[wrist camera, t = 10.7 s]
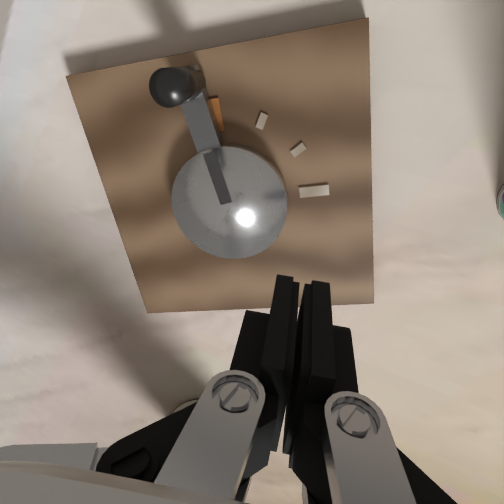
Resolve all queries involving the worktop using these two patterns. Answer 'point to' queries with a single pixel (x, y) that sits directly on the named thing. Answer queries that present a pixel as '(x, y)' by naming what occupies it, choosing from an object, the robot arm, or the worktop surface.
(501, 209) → the spray can
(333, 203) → the board
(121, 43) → the worktop surface
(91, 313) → the worktop surface
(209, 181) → the dial
